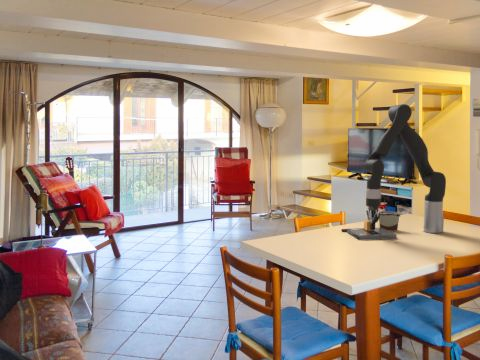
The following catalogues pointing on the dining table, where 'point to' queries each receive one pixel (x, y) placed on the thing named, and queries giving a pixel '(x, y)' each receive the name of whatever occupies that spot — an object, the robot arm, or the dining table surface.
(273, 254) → the dining table surface
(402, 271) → the dining table surface
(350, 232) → the cord
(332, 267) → the dining table surface
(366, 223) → the lever
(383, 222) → the food container
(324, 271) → the dining table surface
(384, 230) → the panel
